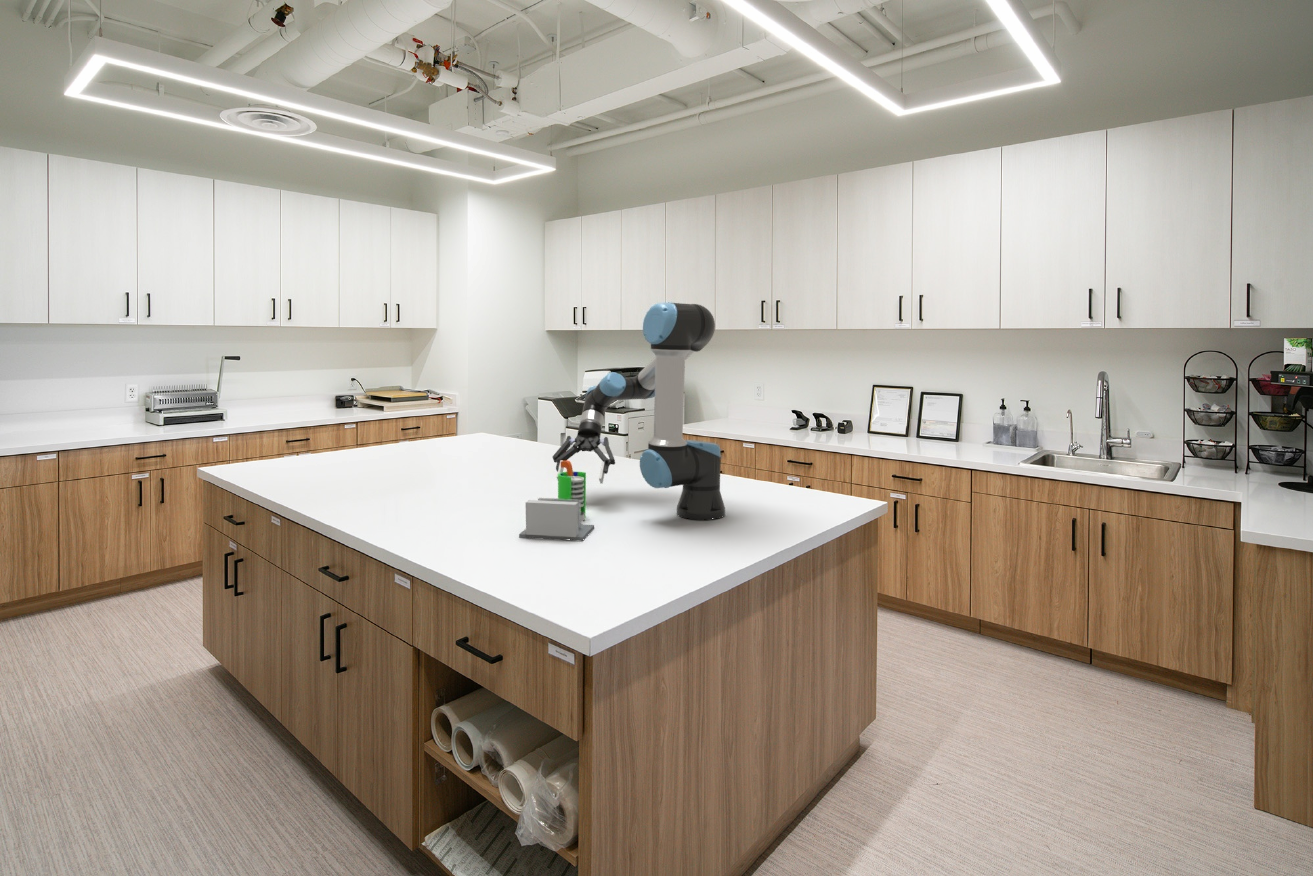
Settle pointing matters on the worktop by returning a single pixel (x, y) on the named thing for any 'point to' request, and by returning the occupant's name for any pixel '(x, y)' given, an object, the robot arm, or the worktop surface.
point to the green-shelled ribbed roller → (572, 486)
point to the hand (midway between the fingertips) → (579, 480)
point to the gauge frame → (553, 521)
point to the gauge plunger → (566, 501)
